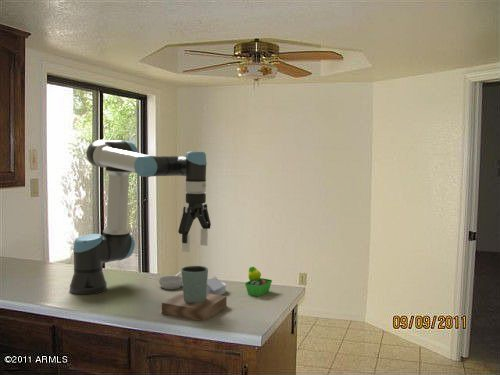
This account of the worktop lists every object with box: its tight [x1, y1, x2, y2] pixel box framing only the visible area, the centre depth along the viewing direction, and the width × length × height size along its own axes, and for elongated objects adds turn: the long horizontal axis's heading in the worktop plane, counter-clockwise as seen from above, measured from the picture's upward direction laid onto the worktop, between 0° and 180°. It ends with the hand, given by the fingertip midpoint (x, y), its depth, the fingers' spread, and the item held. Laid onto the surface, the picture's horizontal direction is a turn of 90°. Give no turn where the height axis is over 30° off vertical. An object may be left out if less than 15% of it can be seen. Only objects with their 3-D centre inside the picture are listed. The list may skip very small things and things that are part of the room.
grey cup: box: [180, 265, 209, 303], centre depth 179 cm, size 10×10×12 cm
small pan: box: [158, 270, 183, 290], centre depth 214 cm, size 11×18×4 cm, turn 168°
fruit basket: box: [244, 266, 273, 297], centre depth 203 cm, size 11×9×11 cm
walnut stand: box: [161, 291, 228, 322], centre depth 180 cm, size 18×18×4 cm
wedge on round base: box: [206, 276, 227, 295], centre depth 201 cm, size 9×7×13 cm
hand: (195, 248), depth 178 cm, fingers open, 13 cm apart
